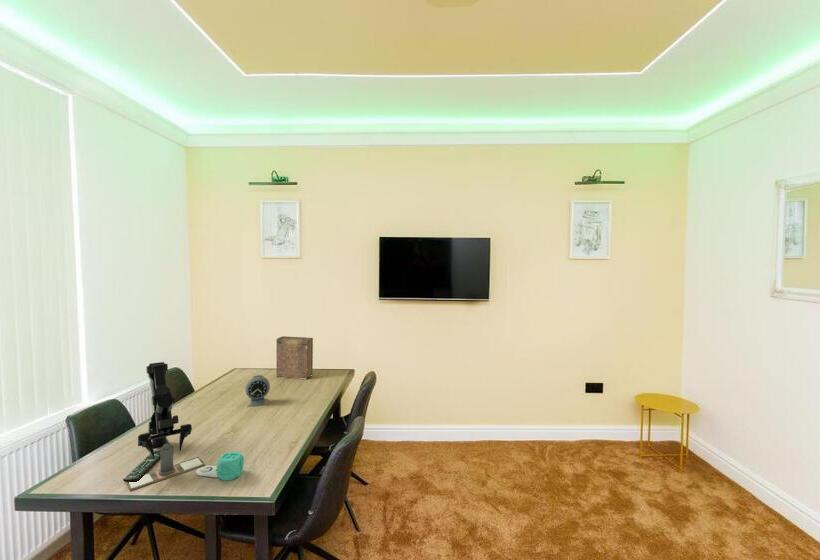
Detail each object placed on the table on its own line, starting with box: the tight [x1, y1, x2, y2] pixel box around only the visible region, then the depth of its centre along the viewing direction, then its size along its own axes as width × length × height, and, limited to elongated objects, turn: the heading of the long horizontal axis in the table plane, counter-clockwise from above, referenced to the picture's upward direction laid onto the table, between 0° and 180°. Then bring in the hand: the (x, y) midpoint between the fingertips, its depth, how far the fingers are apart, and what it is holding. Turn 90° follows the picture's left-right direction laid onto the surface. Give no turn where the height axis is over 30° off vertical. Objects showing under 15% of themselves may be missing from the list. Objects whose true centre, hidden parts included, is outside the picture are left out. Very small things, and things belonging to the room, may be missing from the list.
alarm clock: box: [244, 374, 271, 408], centre depth 232 cm, size 14×10×18 cm
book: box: [276, 335, 314, 380], centre depth 287 cm, size 25×9×30 cm, turn 81°
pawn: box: [158, 442, 175, 476], centre depth 154 cm, size 6×6×12 cm
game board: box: [125, 456, 206, 492], centre depth 154 cm, size 9×26×1 cm, turn 136°
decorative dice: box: [215, 451, 245, 482], centre depth 154 cm, size 8×8×8 cm
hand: (167, 454), depth 153 cm, fingers open, 9 cm apart
